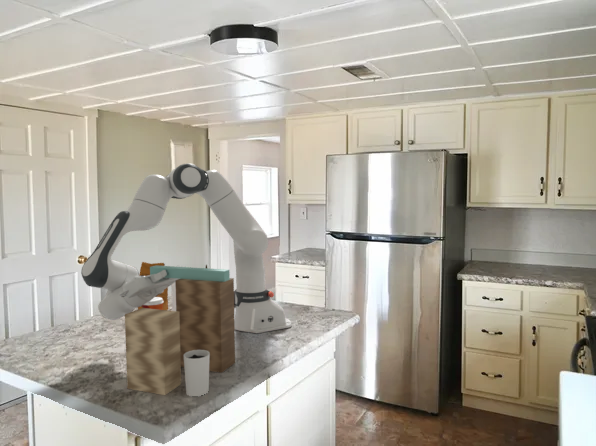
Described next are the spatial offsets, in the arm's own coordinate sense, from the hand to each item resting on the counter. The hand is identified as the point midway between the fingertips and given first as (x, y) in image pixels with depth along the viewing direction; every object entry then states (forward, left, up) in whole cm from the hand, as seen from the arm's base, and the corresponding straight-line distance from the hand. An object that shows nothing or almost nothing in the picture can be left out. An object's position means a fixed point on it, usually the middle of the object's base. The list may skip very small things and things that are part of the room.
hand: (171, 270), depth 139 cm
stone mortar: (-35, -66, -28) cm, 79 cm away
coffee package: (+4, -62, -28) cm, 68 cm away
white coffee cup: (-4, +25, -28) cm, 38 cm away
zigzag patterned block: (+6, +18, -28) cm, 34 cm away
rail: (-5, +4, -2) cm, 7 cm away
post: (-9, +7, -28) cm, 30 cm away
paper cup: (+5, -26, -28) cm, 38 cm away
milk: (-7, -46, -28) cm, 54 cm away
